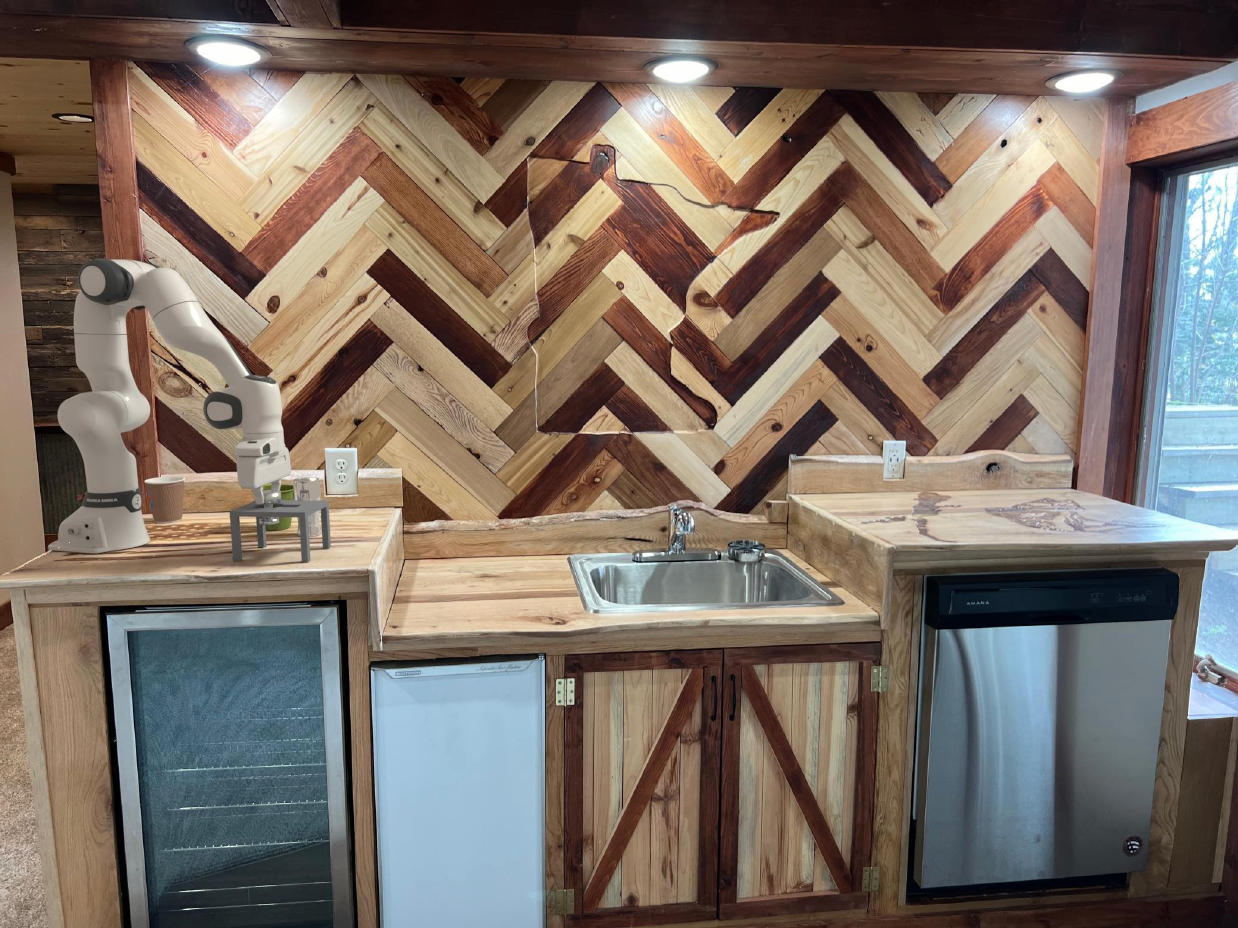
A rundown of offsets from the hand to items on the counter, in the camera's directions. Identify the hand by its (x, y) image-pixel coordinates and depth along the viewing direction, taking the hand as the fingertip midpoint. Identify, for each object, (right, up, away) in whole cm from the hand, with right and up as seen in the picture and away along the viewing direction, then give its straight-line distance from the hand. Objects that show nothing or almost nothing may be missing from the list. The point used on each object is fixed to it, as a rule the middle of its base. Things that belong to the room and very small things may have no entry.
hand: (267, 500), depth 204 cm
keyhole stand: (+3, -13, +2) cm, 14 cm away
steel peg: (0, -6, +1) cm, 6 cm away
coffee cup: (-44, -8, +38) cm, 59 cm away
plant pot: (-10, -9, +29) cm, 32 cm away
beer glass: (+2, -10, +22) cm, 24 cm away
